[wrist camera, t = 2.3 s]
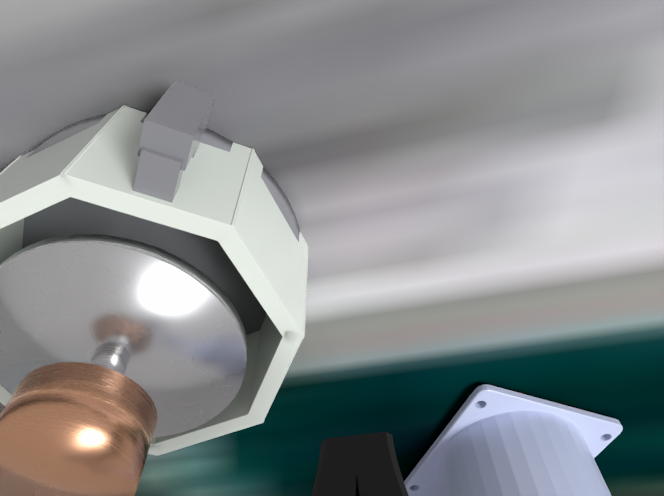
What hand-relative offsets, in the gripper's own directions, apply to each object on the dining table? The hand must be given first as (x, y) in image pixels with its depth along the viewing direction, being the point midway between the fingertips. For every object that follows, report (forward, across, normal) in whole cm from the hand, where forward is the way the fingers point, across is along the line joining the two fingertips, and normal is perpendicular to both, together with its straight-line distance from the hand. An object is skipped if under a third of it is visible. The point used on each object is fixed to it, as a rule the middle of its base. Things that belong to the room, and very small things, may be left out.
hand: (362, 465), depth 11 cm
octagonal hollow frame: (+10, +7, 0) cm, 13 cm away
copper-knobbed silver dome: (+5, +7, +1) cm, 9 cm away
